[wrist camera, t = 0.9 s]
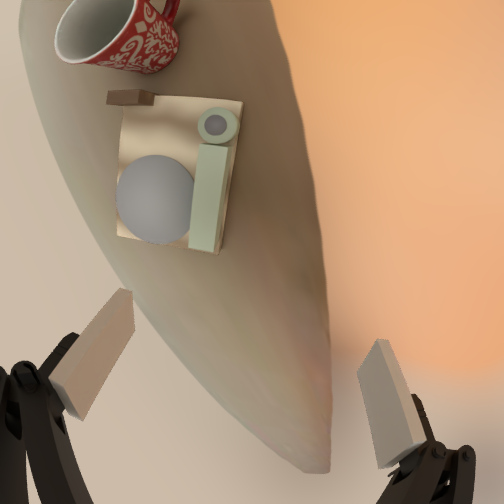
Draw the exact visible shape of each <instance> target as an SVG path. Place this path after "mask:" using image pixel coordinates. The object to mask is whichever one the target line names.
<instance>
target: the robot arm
mask: <svg viewBox="0 0 504 504" xmlns="http://www.w3.org/2000/svg"><path fill="white" fill-rule="evenodd" d="M134 331H135V324H134V313H133V297H132V291H129V290H126V289H122V288H119V289H118V290H117V291H116V292H115V294H114V295H113V296H112V297H111V298H110V300H109V301H108V302H107V303H106V304H105V305H104V306H103V308H102V309H101V310H100V311H99V312H98V314H97V315H96V316H95V318H94V319H93V320H92V321H91V322H90V323H89V325H88V326H87V327H86V328H85V330H84V331H83V332H82V333H81V335H78V334H76V333H74V332H72V333H70V334H68V335H67V336H65V337H64V338H63V339H62V340H61V341H60V343H59V344H58V346H56V348H55V349H54V350H53V352H52V353H51V354H50V355H49V356H48V358H47V359H46V360H45V362H44V363H43V364H42V365H41V367H40V368H39V369H38V370H37V369H36V366H35V365H34V364H33V363H31V362H29V361H21V362H18V363H16V364H15V365H14V366H13V368H12V369H11V373H10V375H7V373H6V371H5V370H4V369H3V368H2V367H1V366H0V504H29V500H28V490H27V475H26V451H27V456H28V460H29V464H30V468H31V472H32V476H33V479H34V482H35V486H36V489H37V492H38V495H39V498H40V501H41V503H42V504H94V503H93V501H92V499H91V497H90V494H89V492H88V490H87V488H86V485H85V483H84V480H83V478H82V475H81V472H80V470H79V467H78V464H77V462H76V458H75V455H74V452H73V449H72V446H71V443H70V439H69V436H68V432H67V428H66V425H65V421H64V416H63V414H62V412H63V411H64V409H66V410H67V412H68V414H69V415H71V416H73V417H75V418H77V419H79V420H81V421H83V420H84V419H85V417H86V415H87V413H88V411H89V409H90V407H91V405H92V404H93V402H94V400H95V398H96V396H97V395H98V393H99V391H100V389H101V387H102V386H103V384H104V382H105V380H106V378H107V377H108V375H109V373H110V372H111V370H112V368H113V366H114V365H115V363H116V361H117V360H118V358H119V356H120V355H121V353H122V351H123V350H124V348H125V346H126V345H127V343H128V341H129V340H130V338H131V336H132V335H133V333H134ZM357 375H358V379H359V383H360V387H361V391H362V395H363V399H364V403H365V407H366V411H367V416H368V420H369V425H370V429H371V434H372V439H373V444H374V448H375V454H376V459H377V464H378V469H384V468H390V467H393V466H394V465H395V464H397V463H398V462H399V465H400V467H398V468H397V469H396V470H394V471H393V472H391V473H390V474H389V475H388V477H390V476H391V475H393V474H394V475H393V477H392V478H391V480H390V482H389V484H388V485H387V487H386V489H385V490H384V492H383V493H382V495H381V497H380V498H379V500H378V501H377V503H376V504H472V500H473V492H474V481H475V466H476V455H475V451H474V449H473V448H472V447H471V446H469V445H464V446H462V447H461V448H459V449H458V450H450V449H446V447H445V445H444V444H442V443H441V442H438V441H436V440H435V438H434V435H433V432H432V429H431V427H430V424H429V421H428V418H427V417H426V413H425V411H424V408H423V405H422V402H421V400H420V399H419V398H418V397H417V395H416V394H410V391H409V388H408V386H407V383H406V381H405V378H404V376H403V374H402V371H401V368H400V366H399V364H398V361H397V359H396V357H395V354H394V352H393V350H392V347H391V345H390V343H389V341H388V340H383V339H377V340H376V341H375V343H374V345H373V347H372V348H371V350H370V352H369V353H368V355H367V357H366V358H365V360H364V361H363V363H362V365H361V366H360V368H359V369H358V371H357ZM448 480H450V483H449V485H447V482H448Z"/></svg>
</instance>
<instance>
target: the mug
mask: <svg viewBox="0 0 504 504" xmlns="http://www.w3.org/2000/svg"><path fill="white" fill-rule="evenodd" d="M149 1H150V0H74V1H73V2H72V3H71V4H70V5H69V7H68V8H67V10H66V11H65V12H64V14H63V16H62V18H61V20H60V22H59V24H58V27H57V30H56V33H55V50H56V53H57V55H58V57H59V58H60V59H61V60H62V61H64V62H66V63H69V64H81V63H86V64H92V65H99V66H105V67H111V68H116V69H121V70H127V71H131V72H136V73H140V74H150V73H154V72H157V71H159V70H161V69H163V68H164V67H165V66H167V65H168V64H169V63H170V62H171V61H172V60H173V58H174V57H175V55H176V53H177V51H178V47H179V37H178V34H177V32H176V31H175V29H174V28H173V27H172V25H173V21H174V18H175V16H176V13H177V10H178V7H179V3H180V0H166V5H165V8H164V11H163V13H162V14H161V15H160V13H159V12H158V11H157V10H156V9H155V8H154V7H153V6H152V5H151V4H150V3H149Z"/></svg>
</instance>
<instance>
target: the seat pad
mask: <svg viewBox="0 0 504 504" xmlns="http://www.w3.org/2000/svg"><path fill="white" fill-rule="evenodd" d="M193 191H194V180H193V178H192V176H191V175H190V173H189V172H188V171H187V170H186V168H185V167H184V166H182V165H181V164H180V163H179V162H177V161H176V160H174V159H172V158H169V157H166V156H162V155H148V156H144V157H141V158H139V159H137V160H135V161H133V162H132V163H131V164H130V165H128V166H127V168H126V169H125V170H124V171H123V173H122V174H121V176H120V178H119V181H118V184H117V188H116V205H117V210H118V213H119V215H120V218H121V220H122V222H123V223H124V225H125V226H126V227H127V228H128V230H129V231H130V232H131V233H132V234H134V235H135V236H136V237H138V238H139V239H141V240H143V241H146V242H149V243H152V244H167V243H171V242H174V241H176V240H178V239H180V238H181V237H183V236H184V235H185V234H186V233H187V232H188V231H189V230H190V220H191V209H192V200H193Z"/></svg>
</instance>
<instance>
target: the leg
mask: <svg viewBox="0 0 504 504" xmlns="http://www.w3.org/2000/svg"><path fill="white" fill-rule="evenodd" d="M239 130H240V122H239V119H238V118H237V116H236V115H235V114H234V113H232V112H230V111H229V110H227V109H225V108H222V107H213V108H210V109H208V110H206V111H205V112H204V113H203V114H202V115H201V116H200V118H199V121H198V131H199V134H200V136H201V137H202V138H203V139H204V140H205V141H207V142H209V143H202V144H199V151H198V158H197V166H196V174H195V182H194V191H193V200H192V209H191V220H190V231H189V243H188V248H193V249H198V250H203V251H208V252H214V250H215V248H216V246H217V244H218V242H219V234H220V227H221V220H222V212H223V205H224V198H225V192H226V185H227V178H228V172H229V165H230V159H231V153H232V147H233V146H227V145H220V144H219V143H225V142H229V141H231V140H233V139H234V138H235V137H236V136H237V134H238V133H239ZM212 143H213V144H212Z"/></svg>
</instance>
